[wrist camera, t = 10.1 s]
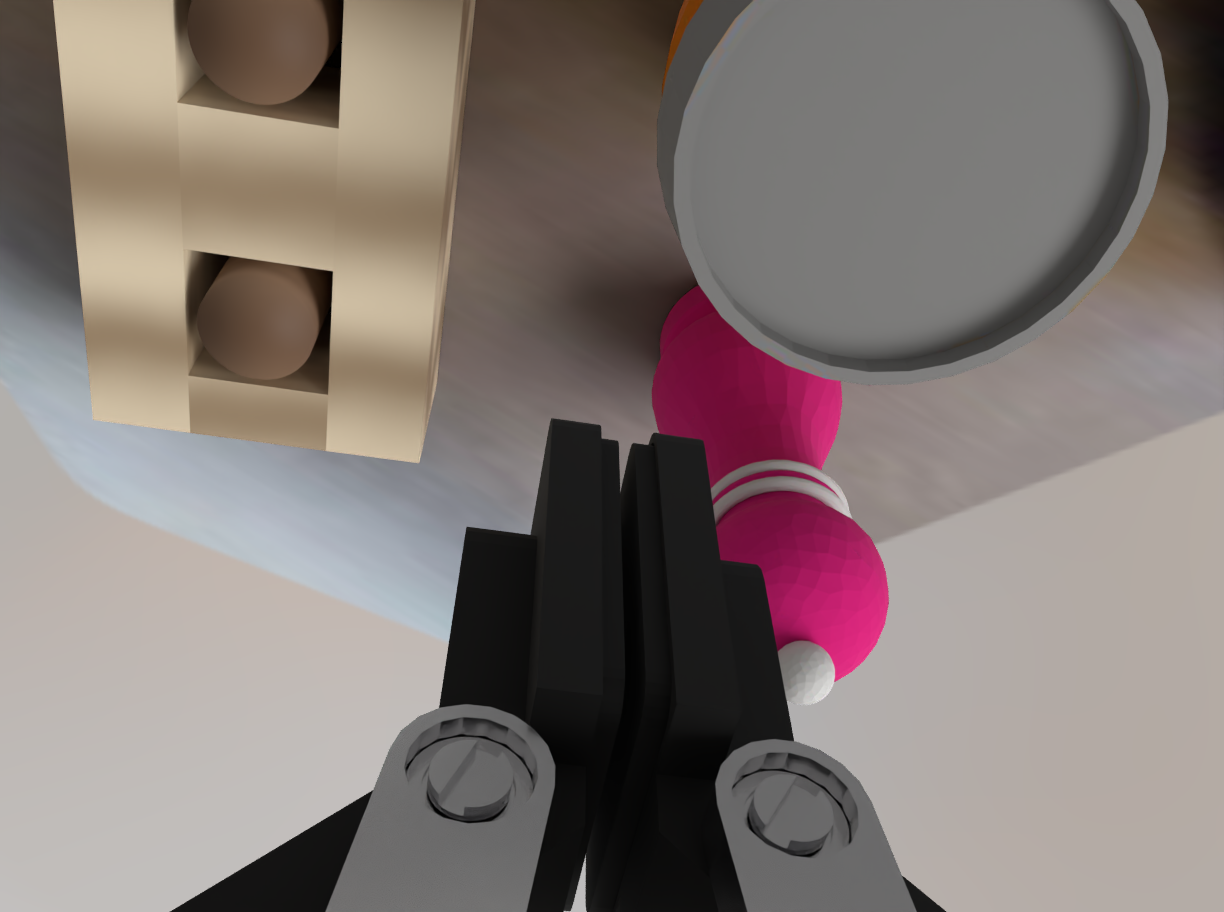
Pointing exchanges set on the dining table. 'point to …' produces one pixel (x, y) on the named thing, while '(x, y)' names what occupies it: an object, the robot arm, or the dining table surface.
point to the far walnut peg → (264, 316)
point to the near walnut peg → (264, 44)
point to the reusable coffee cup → (906, 171)
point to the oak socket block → (266, 218)
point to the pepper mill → (775, 491)
